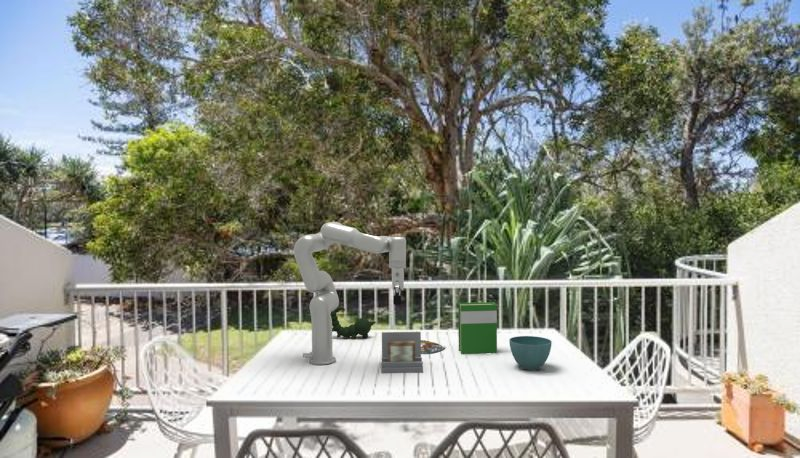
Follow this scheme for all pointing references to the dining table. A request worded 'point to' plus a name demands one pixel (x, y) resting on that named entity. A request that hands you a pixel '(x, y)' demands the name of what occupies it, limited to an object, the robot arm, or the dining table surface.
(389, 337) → the display ledge
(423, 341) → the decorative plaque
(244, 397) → the dining table surface
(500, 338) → the dining table surface
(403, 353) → the picture frame
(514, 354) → the teal bowl
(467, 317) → the hardback book
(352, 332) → the toy figurine
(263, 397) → the dining table surface
